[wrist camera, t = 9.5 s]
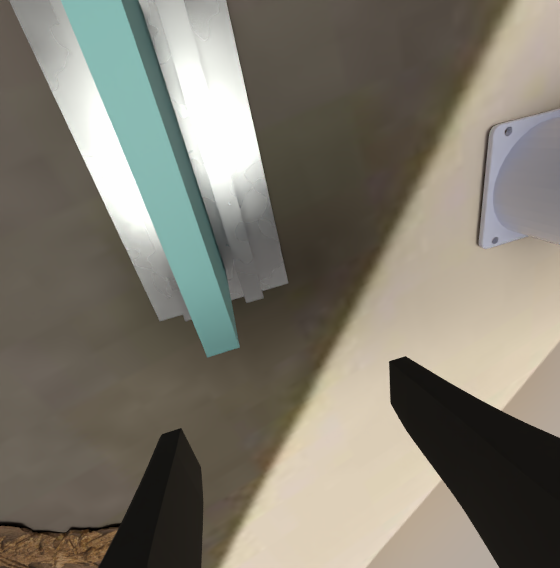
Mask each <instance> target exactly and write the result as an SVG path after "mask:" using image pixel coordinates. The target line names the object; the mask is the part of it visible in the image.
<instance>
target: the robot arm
mask: <svg viewBox="0 0 560 568" xmlns="http://www.w3.org/2000/svg"><path fill="white" fill-rule="evenodd" d="M506 129H507V131H506V134H505V130H506ZM527 236H531V237H534V238H537V239H541V240H544V241H548V242H551V243H554V244H558V245H560V108H559V109H555V110H551V111H547V112H543V113H539V114H535V115H532V116H528V117H524V118H520V119H516V120H512V121H508V122H504V123H500V124H497V125H495V126H494V127H493V128H492V129H491V131H490V133H489V141H488V151H487V161H486V172H485V182H484V193H483V203H482V213H481V224H480V234H479V246H480V247H482V248H484V249H488V248H491V247H495V246H498V245H501V244H505V243H508V242H511V241H514V240H518V239H521V238H524V237H527ZM493 238H494V239H493ZM492 240H493V241H492ZM389 370H390V399H391V405H392V406H393V408H394V410H395V412H396V414H397V415H398V417H399V419H400V421H401V422H402V424H403V426H404V427H405V429H406V431H407V432H408V433H409V435H410V436H411V438H412V439H413V440H414V442H415V443H416V445H417V446H418V447H419V449H420V450H421V451H422V453H423V454H424V455H425V457H426V458H427V460H428V461H429V462H430V464H431V465H432V466H433V468H434V469H435V470H436V472H437V473H438V474H439V476H440V477H441V479H442V480H443V481H444V483H445V484H446V485H447V487H448V488H449V489H450V491H451V492H452V493H453V495H454V496H455V498H456V499H457V501H458V502H459V504H460V505H461V506H462V508H463V509H464V511H465V512H466V514H467V516H468V517H469V519H470V520H471V522H472V524H473V525H474V527H475V528H476V530H477V532H478V533H479V535H480V536H481V538H482V540H483V541H484V543H485V545H486V546H487V548H488V550H489V551H490V553H491V555H492V556H493V558H494V560H495V561H496V563H497V565H498V566H499V568H560V438H558V437H556V436H554V435H552V434H549V433H547V432H545V431H543V430H540V429H538V428H536V427H534V426H531V425H529V424H527V423H525V422H523V421H521V420H518V419H516V418H514V417H512V416H510V415H508V414H506V413H504V412H502V411H500V410H498V409H496V408H495V407H493V406H491V405H489V404H487V403H485V402H483V401H481V400H479V399H477V398H476V397H474V396H472V395H470V394H468V393H467V392H465V391H463V390H461V389H460V388H458V387H456V386H454V385H453V384H451V383H449V382H447V381H446V380H444V379H442V378H441V377H439V376H437V375H436V374H434V373H432V372H431V371H429V370H427V369H426V368H424V367H422V366H421V365H419V364H417V363H416V362H414V361H412V360H411V359H409V358H407V357H406V356H405V357H402V358H399V359H395V360H392V361H389ZM202 531H203V489H202V475H201V466H200V464H199V463H198V461H197V459H196V457H195V455H194V453H193V451H192V449H191V447H190V445H189V443H188V441H187V439H186V437H185V435H184V433H183V431H182V429H181V428H180V429H177V430H174V431H171V432H168V433H165V434H162V435H161V437H160V439H159V441H158V443H157V446H156V448H155V450H154V453H153V455H152V457H151V460H150V462H149V464H148V467H147V469H146V471H145V474H144V476H143V478H142V480H141V482H140V485H139V487H138V489H137V491H136V493H135V495H134V497H133V500H132V502H131V504H130V506H129V508H128V510H127V512H126V514H125V516H124V518H123V521H122V522H121V524H120V526H119V528H118V530H117V532H116V534H115V536H114V538H113V540H112V542H111V544H110V546H109V548H108V550H107V552H106V553H105V555H104V557H103V559H102V561H101V563H100V565H99V566H98V568H201V558H202Z"/></svg>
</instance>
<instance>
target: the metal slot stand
mask: <svg viewBox="0 0 560 568" xmlns="http://www.w3.org/2000/svg"><path fill="white" fill-rule="evenodd" d="M9 1H10V3H11V5H12V7H13V10H14V12H15V14H16V16H17V18H18V20H19V22H20V25H21V27H22V29H23V31H24V33H25V35H26V37H27V39H28V42H29V44H30V46H31V48H32V50H33V52H34V54H35V56H36V59H37V61H38V63H39V65H40V67H41V69H42V71H43V73H44V76H45V78H46V80H47V82H48V84H49V86H50V88H51V91H52V93H53V95H54V97H55V99H56V101H57V103H58V105H59V108H60V110H61V112H62V114H63V116H64V118H65V120H66V122H67V125H68V127H69V129H70V131H71V133H72V135H73V137H74V139H75V142H76V144H77V146H78V148H79V150H80V152H81V154H82V157H83V159H84V161H85V163H86V165H87V167H88V169H89V171H90V174H91V176H92V178H93V180H94V182H95V184H96V186H97V188H98V191H99V193H100V195H101V197H102V199H103V201H104V203H105V206H106V208H107V210H108V212H109V214H110V216H111V218H112V220H113V223H114V225H115V227H116V229H117V231H118V233H119V235H120V237H121V240H122V242H123V244H124V246H125V248H126V250H127V252H128V254H129V257H130V259H131V261H132V263H133V265H134V267H135V269H136V272H137V274H138V276H139V278H140V280H141V282H142V284H143V286H144V289H145V291H146V293H147V295H148V297H149V299H150V301H151V303H152V306H153V308H154V310H155V312H156V314H157V316H158V318H159V320H160V321H163V320H166V319H169V318H173V317H176V316H179V315H183V316H184V319H185V321H188V320H192V318H191V316H190V314H189V311H188V309H187V306H186V304H185V301H184V299H183V297H182V294H181V292H180V289H179V287H178V284H177V282H176V280H175V277H174V275H173V272H172V270H171V267H170V265H169V262H168V260H167V258H166V255H165V253H164V250H163V248H162V245H161V243H160V241H159V238H158V236H157V233H156V231H155V228H154V226H153V224H152V221H151V219H150V216H149V214H148V211H147V209H146V206H145V204H144V202H143V199H142V197H141V194H140V192H139V189H138V187H137V185H136V182H135V180H134V177H133V175H132V172H131V170H130V168H129V165H128V163H127V160H126V158H125V155H124V153H123V150H122V148H121V146H120V143H119V141H118V138H117V136H116V133H115V131H114V129H113V126H112V124H111V121H110V119H109V116H108V114H107V112H106V109H105V107H104V104H103V102H102V99H101V97H100V94H99V92H98V90H97V87H96V85H95V82H94V80H93V77H92V75H91V73H90V70H89V68H88V65H87V63H86V60H85V58H84V56H83V53H82V51H81V48H80V46H79V43H78V41H77V39H76V36H75V34H74V31H73V29H72V26H71V24H70V21H69V19H68V17H67V14H66V12H65V9H64V7H63V4H62V2H61V0H9ZM138 1H139V3H140V5H141V8H142V11H143V14H144V17H145V21H146V24H147V27H148V30H149V33H150V36H151V39H152V42H153V45H154V49H155V52H156V55H157V58H158V61H159V64H160V67H161V70H162V73H163V77H164V80H165V83H166V86H167V89H168V92H169V95H170V98H171V102H172V105H173V108H174V111H175V114H176V117H177V120H178V123H179V126H180V130H181V133H182V136H183V139H184V142H185V145H186V148H187V151H188V155H189V158H190V161H191V164H192V167H193V170H194V173H195V176H196V179H197V183H198V186H199V189H200V192H201V195H202V198H203V201H204V204H205V207H206V211H207V214H208V217H209V220H210V223H211V226H212V229H213V232H214V236H215V239H216V242H217V245H218V248H219V251H220V254H221V257H222V260H223V264H224V267H225V270H226V275H227V280H228V286H229V291H230V297H231V300H234V299H237V298H240V297H245V300H246V303H248V302H252V301H255V300H259V299H262V298H264V297H263V293H262V291H264V290H267V289H271V288H274V287H277V286H281V285H284V284H288V280H287V275H286V270H285V266H284V261H283V257H282V252H281V248H280V243H279V239H278V234H277V230H276V225H275V221H274V216H273V212H272V207H271V203H270V198H269V193H268V189H267V184H266V180H265V175H264V171H263V166H262V162H261V157H260V153H259V148H258V144H257V139H256V135H255V130H254V125H253V121H252V116H251V112H250V107H249V103H248V98H247V94H246V89H245V85H244V80H243V76H242V71H241V67H240V62H239V58H238V53H237V48H236V44H235V39H234V35H233V30H232V26H231V21H230V17H229V12H228V8H227V3H226V0H138Z"/></svg>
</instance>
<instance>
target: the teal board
mask: <svg viewBox="0 0 560 568" xmlns="http://www.w3.org/2000/svg"><path fill="white" fill-rule="evenodd" d="M61 2H62V4H63V7H64V9H65V12H66V14H67V17H68V19H69V21H70V24H71V26H72V29H73V31H74V34H75V36H76V39H77V41H78V43H79V46H80V48H81V51H82V53H83V56H84V58H85V60H86V63H87V65H88V68H89V70H90V73H91V75H92V77H93V80H94V82H95V85H96V87H97V90H98V92H99V94H100V97H101V99H102V102H103V104H104V107H105V109H106V112H107V114H108V116H109V119H110V121H111V124H112V126H113V129H114V131H115V133H116V136H117V138H118V141H119V143H120V146H121V148H122V150H123V153H124V155H125V158H126V160H127V163H128V165H129V168H130V170H131V172H132V175H133V177H134V180H135V182H136V185H137V187H138V189H139V192H140V194H141V197H142V199H143V202H144V204H145V206H146V209H147V211H148V214H149V216H150V219H151V221H152V224H153V226H154V228H155V231H156V233H157V236H158V238H159V241H160V243H161V245H162V248H163V250H164V253H165V255H166V258H167V260H168V262H169V265H170V267H171V270H172V272H173V275H174V277H175V280H176V282H177V284H178V287H179V289H180V292H181V294H182V297H183V299H184V301H185V304H186V306H187V309H188V311H189V314H190V316H191V318H192V321H193V323H194V326H195V328H196V331H197V333H198V335H199V338H200V340H201V343H202V345H203V348H204V350H205V353H206V355H207V357H211V356H214V355H217V354H220V353H223V352H226V351H230V350H233V349H236V348H239V347H240V346H239V341H238V335H237V330H236V324H235V319H234V313H233V308H232V302H231V297H230V291H229V286H228V280H227V275H226V270H225V267H224V264H223V260H222V257H221V254H220V251H219V248H218V245H217V242H216V239H215V236H214V232H213V229H212V226H211V223H210V220H209V217H208V214H207V211H206V207H205V204H204V201H203V198H202V195H201V192H200V189H199V186H198V183H197V179H196V176H195V173H194V170H193V167H192V164H191V161H190V158H189V155H188V151H187V148H186V145H185V142H184V139H183V136H182V133H181V130H180V126H179V123H178V120H177V117H176V114H175V111H174V108H173V105H172V102H171V98H170V95H169V92H168V89H167V86H166V83H165V80H164V77H163V73H162V70H161V67H160V64H159V61H158V58H157V55H156V52H155V49H154V45H153V42H152V39H151V36H150V33H149V30H148V27H147V24H146V21H145V17H144V14H143V11H142V8H141V5H140V3H139V1H138V0H61Z"/></svg>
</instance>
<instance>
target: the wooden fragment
mask: <svg viewBox="0 0 560 568" xmlns="http://www.w3.org/2000/svg"><path fill="white" fill-rule="evenodd" d="M118 528H119V527H109V529H108V528H105V529H100V530H98V531H91V530H90V529H86V530H69V531H68V532H67V533H51V532H44V533H37V532H32V531H31V529H27V528H19V527H17V528H15V527H12V526H0V568H98V566H99V565H100V563H101V561H102V559H103V557H104V555H105V553H106V552H107V550H108V548H109V546H110V544H111V542H112V540H113V538H114V536H115V534H116V532H117V530H118Z"/></svg>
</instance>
